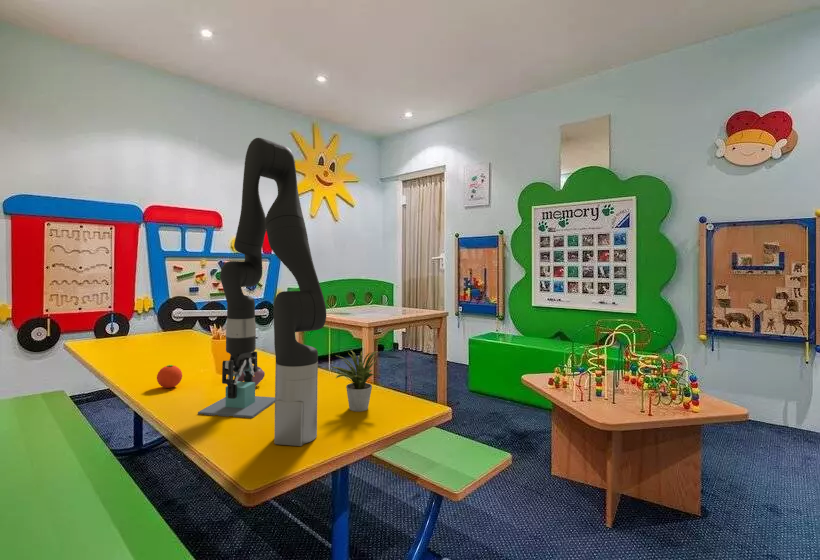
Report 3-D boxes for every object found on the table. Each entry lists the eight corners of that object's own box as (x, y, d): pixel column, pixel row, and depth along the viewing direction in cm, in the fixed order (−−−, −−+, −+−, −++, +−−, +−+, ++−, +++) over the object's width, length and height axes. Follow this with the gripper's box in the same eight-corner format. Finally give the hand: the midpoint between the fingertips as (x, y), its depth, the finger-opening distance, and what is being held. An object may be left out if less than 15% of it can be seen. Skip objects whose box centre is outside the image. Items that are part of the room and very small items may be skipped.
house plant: (354, 395, 126) (355, 342, 125) (394, 403, 119) (395, 347, 119) (323, 409, 113) (324, 349, 113) (365, 419, 107) (366, 355, 106)
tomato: (156, 385, 133) (156, 363, 132) (181, 382, 136) (181, 361, 136) (156, 392, 126) (156, 368, 126) (182, 388, 129) (182, 366, 129)
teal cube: (244, 408, 111) (244, 387, 111) (225, 407, 112) (225, 386, 112) (255, 401, 117) (255, 382, 116) (236, 400, 117) (236, 381, 117)
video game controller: (260, 391, 133) (269, 370, 135) (248, 387, 130) (257, 366, 132) (245, 385, 140) (254, 365, 142) (233, 381, 137) (242, 361, 139)
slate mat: (252, 418, 106) (252, 415, 106) (197, 414, 108) (197, 412, 108) (278, 399, 121) (278, 397, 121) (230, 396, 123) (230, 394, 123)
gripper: (240, 339, 106) (239, 402, 107) (266, 331, 120) (265, 387, 121) (212, 338, 107) (212, 401, 107) (241, 330, 121) (241, 385, 122)
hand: (240, 393), depth 114 cm, fingers open, 8 cm apart
